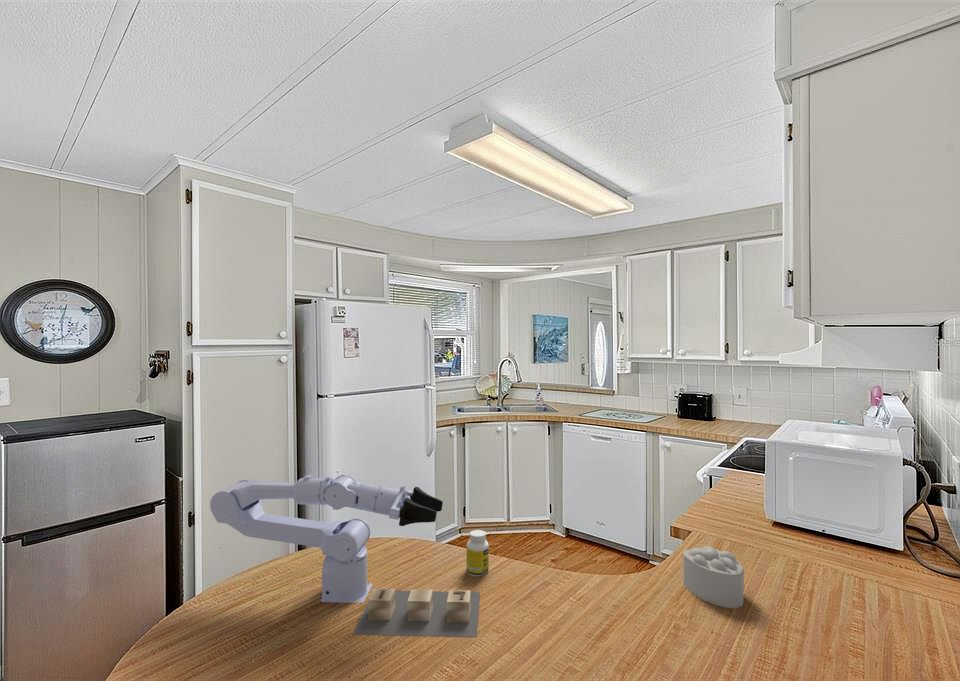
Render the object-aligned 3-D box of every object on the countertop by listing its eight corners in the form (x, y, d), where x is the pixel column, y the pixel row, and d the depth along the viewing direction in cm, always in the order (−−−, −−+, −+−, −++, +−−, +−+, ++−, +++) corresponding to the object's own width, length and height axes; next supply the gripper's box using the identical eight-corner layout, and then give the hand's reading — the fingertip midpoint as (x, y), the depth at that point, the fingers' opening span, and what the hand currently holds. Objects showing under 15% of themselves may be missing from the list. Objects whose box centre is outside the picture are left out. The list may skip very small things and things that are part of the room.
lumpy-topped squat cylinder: (714, 575, 117) (714, 539, 116) (757, 604, 104) (757, 564, 104) (676, 581, 114) (676, 544, 114) (716, 611, 101) (716, 570, 101)
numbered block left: (368, 619, 98) (368, 599, 98) (374, 607, 102) (373, 587, 102) (390, 620, 97) (390, 599, 97) (395, 607, 102) (395, 588, 102)
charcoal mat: (352, 637, 93) (352, 634, 93) (374, 592, 109) (374, 590, 109) (477, 640, 92) (477, 637, 92) (480, 594, 108) (480, 592, 108)
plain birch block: (407, 620, 97) (407, 601, 97) (411, 608, 102) (411, 589, 102) (429, 621, 97) (429, 601, 97) (432, 608, 102) (432, 589, 102)
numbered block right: (447, 621, 97) (446, 601, 97) (449, 608, 102) (449, 589, 101) (469, 622, 97) (469, 601, 97) (470, 609, 101) (470, 589, 101)
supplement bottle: (486, 579, 115) (486, 538, 115) (464, 577, 116) (464, 536, 116) (490, 568, 120) (490, 529, 120) (469, 566, 121) (469, 527, 121)
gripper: (372, 489, 100) (436, 502, 99) (391, 474, 115) (447, 485, 113) (366, 523, 100) (430, 536, 98) (386, 504, 114) (442, 515, 113)
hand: (439, 511), depth 106 cm, fingers open, 7 cm apart
